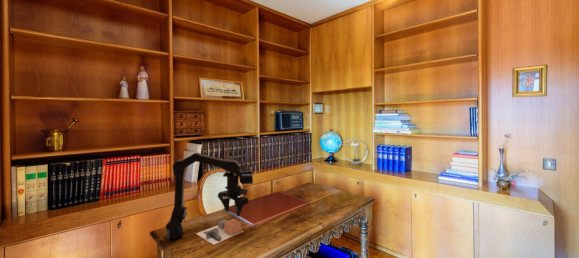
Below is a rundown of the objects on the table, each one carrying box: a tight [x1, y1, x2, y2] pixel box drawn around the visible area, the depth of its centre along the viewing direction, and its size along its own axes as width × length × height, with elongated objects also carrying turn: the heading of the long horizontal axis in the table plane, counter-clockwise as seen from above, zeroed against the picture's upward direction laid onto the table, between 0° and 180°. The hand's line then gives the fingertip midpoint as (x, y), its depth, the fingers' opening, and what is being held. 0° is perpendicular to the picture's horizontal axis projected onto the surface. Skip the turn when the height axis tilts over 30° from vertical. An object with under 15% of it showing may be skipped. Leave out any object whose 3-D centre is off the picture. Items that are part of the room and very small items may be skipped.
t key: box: [206, 228, 221, 240], centre depth 127 cm, size 8×6×3 cm
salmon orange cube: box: [224, 218, 242, 235], centre depth 135 cm, size 6×6×5 cm
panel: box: [195, 218, 244, 245], centre depth 134 cm, size 18×16×4 cm
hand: (232, 213), depth 134 cm, fingers open, 9 cm apart
